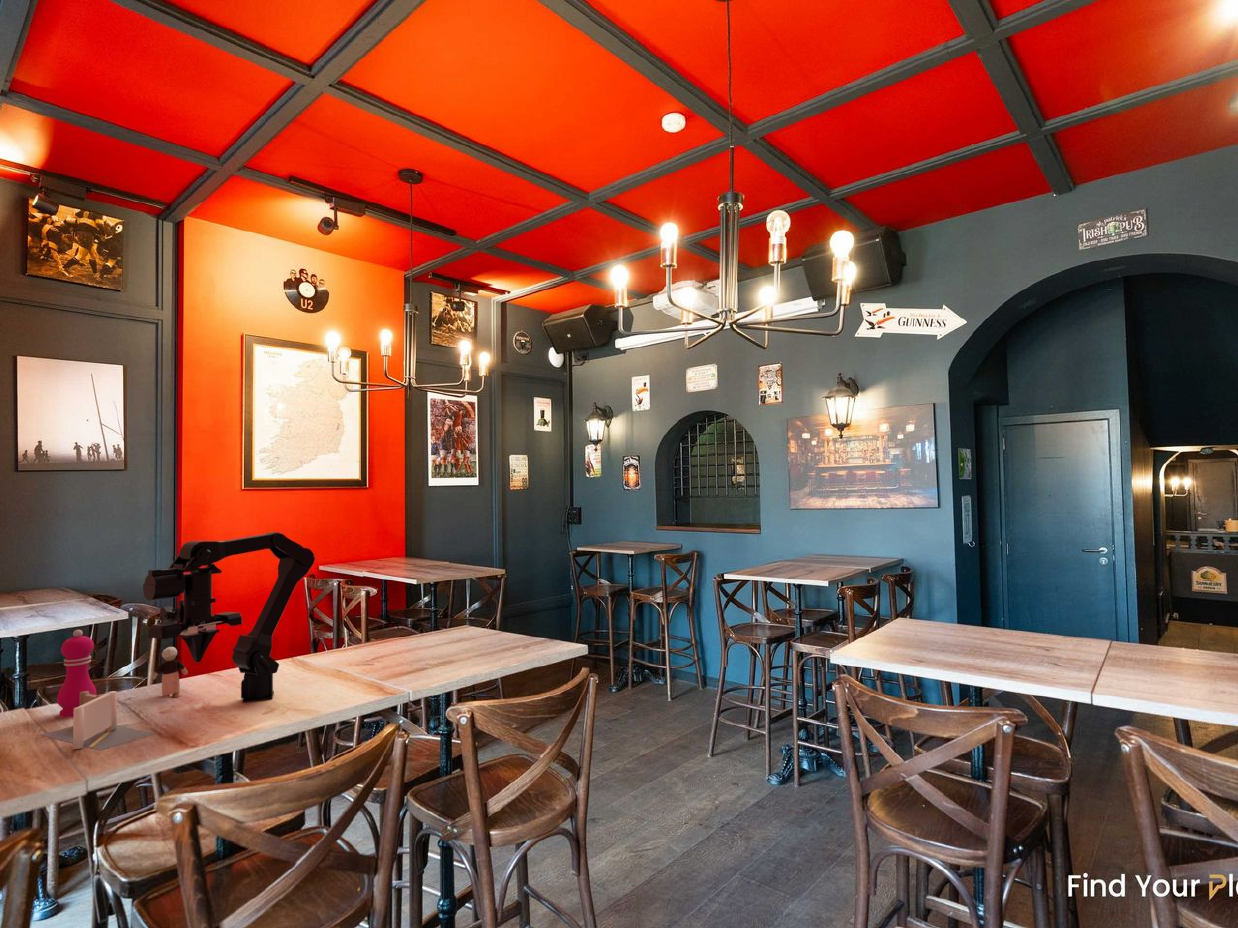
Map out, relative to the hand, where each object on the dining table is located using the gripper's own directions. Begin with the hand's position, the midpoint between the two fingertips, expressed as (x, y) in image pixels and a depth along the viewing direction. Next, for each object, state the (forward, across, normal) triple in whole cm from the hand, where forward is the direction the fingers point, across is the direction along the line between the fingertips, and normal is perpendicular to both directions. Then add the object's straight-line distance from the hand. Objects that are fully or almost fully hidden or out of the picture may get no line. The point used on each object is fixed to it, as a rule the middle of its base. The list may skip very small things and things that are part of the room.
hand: (197, 662), depth 156 cm
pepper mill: (+12, +12, -27) cm, 32 cm away
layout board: (+12, +18, -4) cm, 22 cm away
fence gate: (+11, +20, -2) cm, 23 cm away
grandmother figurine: (+12, -6, -21) cm, 25 cm away
